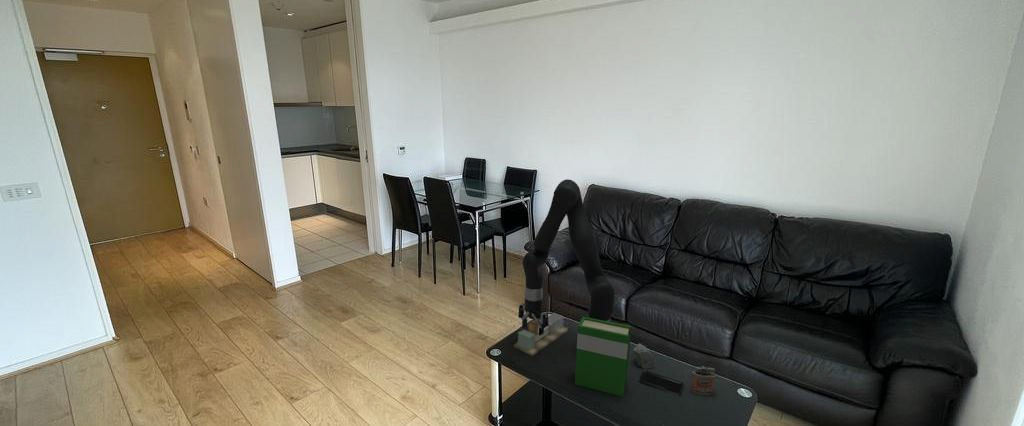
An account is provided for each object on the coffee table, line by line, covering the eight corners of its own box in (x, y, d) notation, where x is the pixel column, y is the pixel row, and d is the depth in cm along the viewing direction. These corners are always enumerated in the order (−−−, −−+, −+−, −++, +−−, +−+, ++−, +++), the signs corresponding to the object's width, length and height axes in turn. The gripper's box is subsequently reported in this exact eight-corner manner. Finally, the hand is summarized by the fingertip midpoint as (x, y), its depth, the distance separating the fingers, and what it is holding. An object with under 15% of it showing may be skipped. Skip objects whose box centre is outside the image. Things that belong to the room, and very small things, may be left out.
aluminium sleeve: (553, 323, 199) (554, 312, 197) (563, 327, 195) (563, 316, 194) (541, 331, 191) (541, 320, 190) (550, 335, 188) (551, 324, 187)
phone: (644, 369, 165) (684, 383, 157) (643, 372, 165) (684, 385, 157) (638, 380, 158) (680, 395, 151) (637, 383, 159) (680, 397, 151)
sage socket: (523, 342, 182) (523, 329, 181) (534, 347, 178) (534, 334, 177) (517, 346, 180) (518, 332, 178) (529, 351, 176) (529, 337, 174)
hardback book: (626, 384, 157) (631, 326, 151) (623, 396, 151) (628, 336, 145) (579, 372, 164) (582, 316, 158) (574, 384, 157) (577, 325, 151)
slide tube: (544, 328, 192) (545, 311, 190) (552, 331, 190) (552, 314, 187) (521, 343, 179) (521, 326, 177) (528, 347, 177) (529, 329, 175)
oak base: (550, 323, 201) (550, 321, 200) (568, 330, 194) (568, 328, 194) (513, 346, 181) (513, 344, 180) (532, 355, 174) (532, 353, 174)
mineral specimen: (638, 354, 175) (644, 339, 172) (654, 369, 169) (660, 353, 165) (626, 359, 171) (631, 344, 168) (642, 374, 165) (648, 358, 161)
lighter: (690, 393, 153) (694, 369, 150) (688, 387, 156) (691, 363, 154) (714, 396, 152) (718, 371, 149) (711, 390, 155) (715, 366, 152)
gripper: (514, 294, 179) (514, 328, 183) (542, 304, 170) (540, 340, 174) (525, 288, 184) (525, 322, 188) (552, 298, 175) (551, 333, 179)
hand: (532, 331), depth 181 cm, fingers open, 8 cm apart
